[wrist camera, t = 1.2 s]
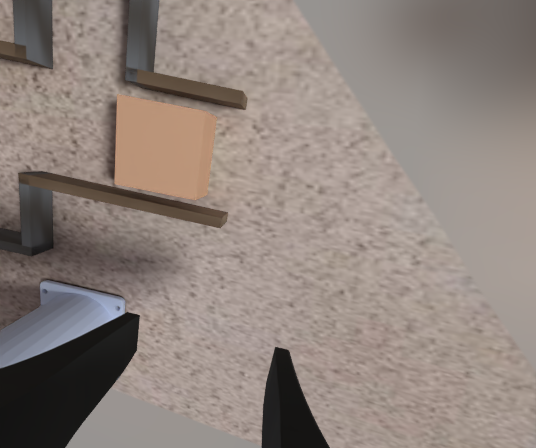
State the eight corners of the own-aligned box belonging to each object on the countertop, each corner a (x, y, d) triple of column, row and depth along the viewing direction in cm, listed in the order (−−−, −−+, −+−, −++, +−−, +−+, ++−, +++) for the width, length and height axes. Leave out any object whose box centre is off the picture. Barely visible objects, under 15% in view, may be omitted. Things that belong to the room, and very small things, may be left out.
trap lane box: (215, 285, 23) (208, 297, 21) (-99, 213, 24) (-133, 218, 22) (263, 2, 17) (260, -18, 15) (-150, -80, 18) (-202, -109, 16)
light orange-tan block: (208, 194, 21) (195, 200, 18) (138, 180, 21) (114, 183, 18) (218, 118, 20) (205, 111, 17) (142, 103, 20) (117, 94, 17)
